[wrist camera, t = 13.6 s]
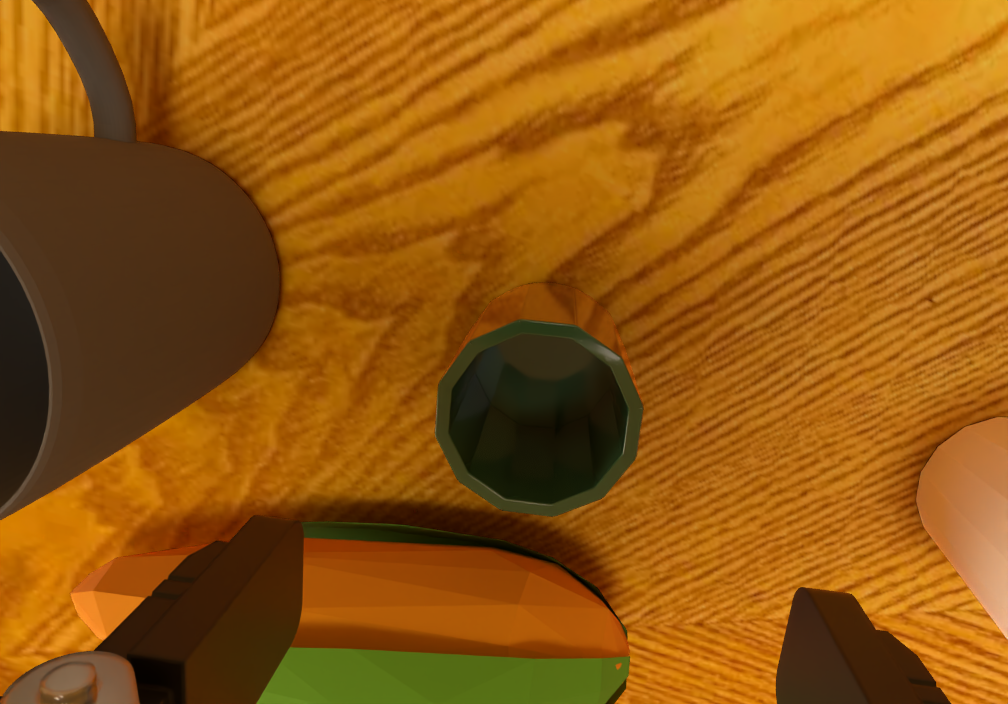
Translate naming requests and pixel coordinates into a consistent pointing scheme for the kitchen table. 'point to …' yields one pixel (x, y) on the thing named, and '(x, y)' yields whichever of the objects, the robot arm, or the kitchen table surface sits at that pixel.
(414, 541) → the corn
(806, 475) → the kitchen table surface
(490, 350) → the green faceted cup
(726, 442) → the kitchen table surface
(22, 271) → the mug
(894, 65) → the kitchen table surface
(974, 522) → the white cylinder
